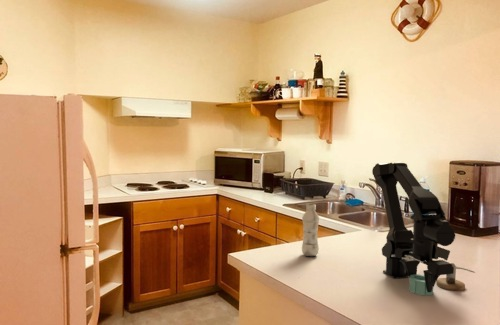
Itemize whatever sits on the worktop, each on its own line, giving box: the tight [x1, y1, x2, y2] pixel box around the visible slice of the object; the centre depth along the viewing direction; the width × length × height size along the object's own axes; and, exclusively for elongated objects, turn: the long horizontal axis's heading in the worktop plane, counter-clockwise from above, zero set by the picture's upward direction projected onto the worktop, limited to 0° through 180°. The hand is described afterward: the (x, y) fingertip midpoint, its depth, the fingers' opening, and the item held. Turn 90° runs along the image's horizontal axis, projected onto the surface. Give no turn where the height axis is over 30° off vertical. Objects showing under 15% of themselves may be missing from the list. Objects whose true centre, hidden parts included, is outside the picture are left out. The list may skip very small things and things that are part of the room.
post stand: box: [435, 262, 466, 292], centre depth 123 cm, size 8×8×7 cm
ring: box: [408, 273, 434, 296], centre depth 118 cm, size 6×6×4 cm
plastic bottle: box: [301, 203, 320, 257], centre depth 152 cm, size 6×7×20 cm
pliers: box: [433, 258, 475, 273], centre depth 141 cm, size 10×2×15 cm
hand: (421, 287), depth 118 cm, fingers closed on ring, 6 cm apart
